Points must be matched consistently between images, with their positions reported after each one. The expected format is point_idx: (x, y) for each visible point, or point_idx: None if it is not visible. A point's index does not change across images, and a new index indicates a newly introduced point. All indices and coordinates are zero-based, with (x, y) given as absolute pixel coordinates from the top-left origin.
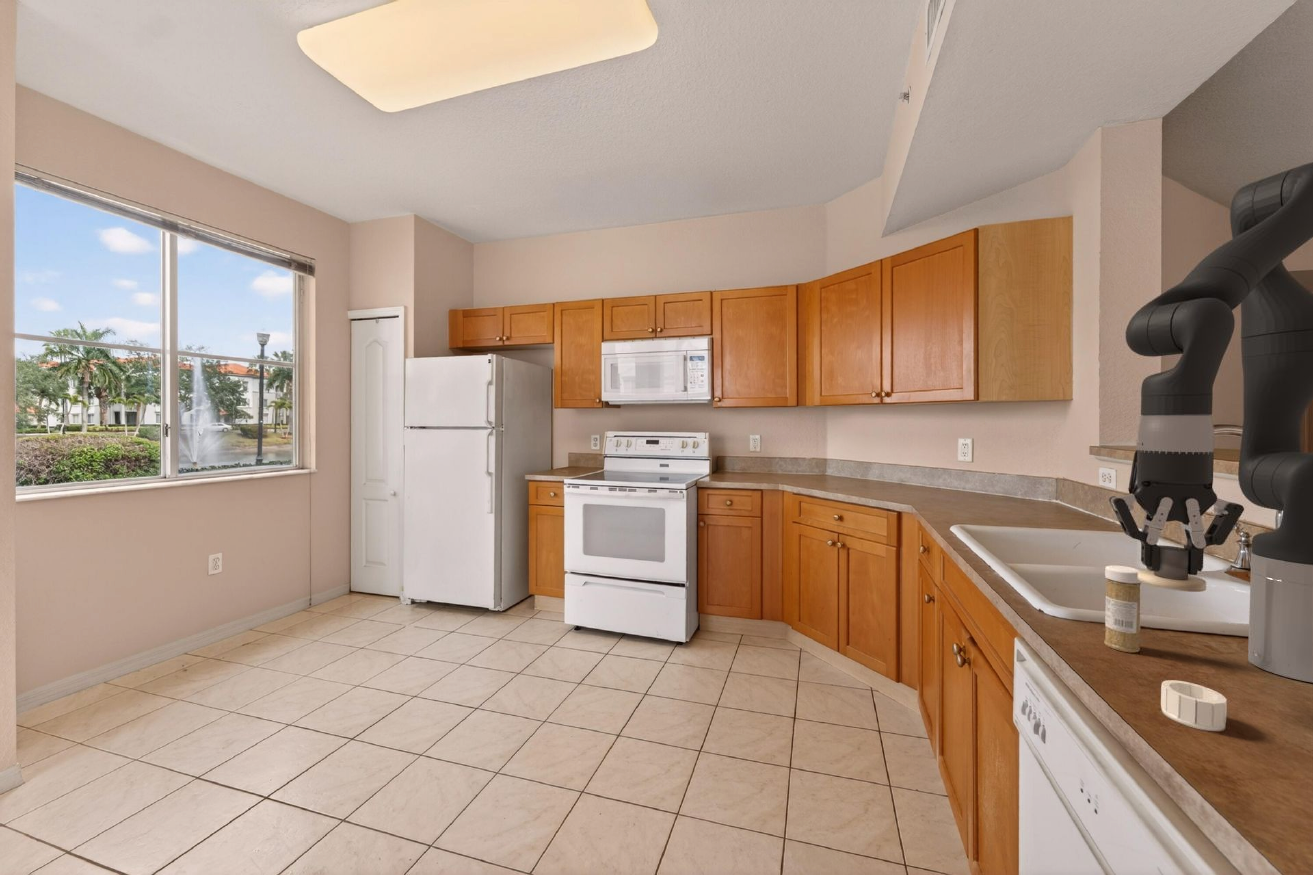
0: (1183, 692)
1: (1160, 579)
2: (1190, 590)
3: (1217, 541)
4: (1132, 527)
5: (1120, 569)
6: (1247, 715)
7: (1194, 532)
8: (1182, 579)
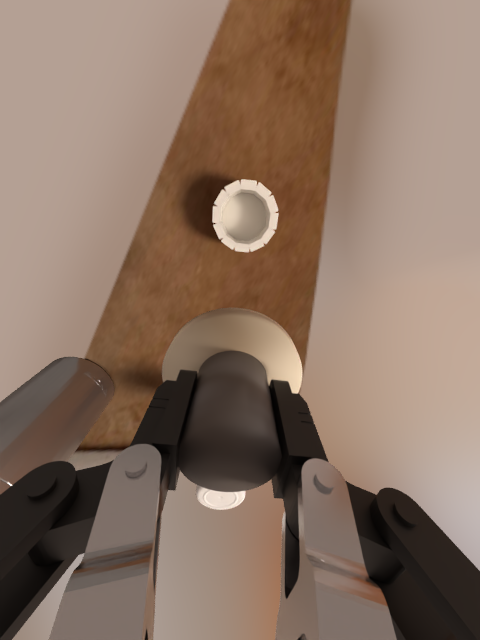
0: (243, 242)
1: (278, 343)
2: (220, 310)
3: (50, 479)
4: (453, 573)
5: (228, 492)
6: (177, 250)
7: (134, 547)
8: (220, 354)
